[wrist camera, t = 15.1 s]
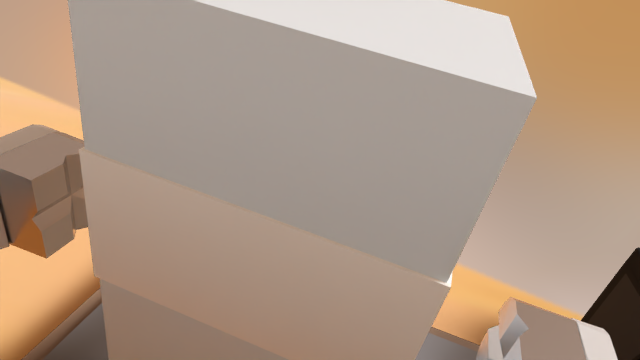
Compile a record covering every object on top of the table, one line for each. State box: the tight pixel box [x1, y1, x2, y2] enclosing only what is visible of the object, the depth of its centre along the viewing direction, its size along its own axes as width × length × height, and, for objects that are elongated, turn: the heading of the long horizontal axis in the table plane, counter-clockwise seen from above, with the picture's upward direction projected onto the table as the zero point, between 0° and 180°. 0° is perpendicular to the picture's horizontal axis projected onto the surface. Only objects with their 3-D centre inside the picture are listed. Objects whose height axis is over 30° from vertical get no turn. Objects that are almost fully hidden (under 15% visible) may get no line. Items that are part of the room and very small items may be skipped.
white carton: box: [68, 0, 537, 360], centre depth 10 cm, size 5×5×14 cm
